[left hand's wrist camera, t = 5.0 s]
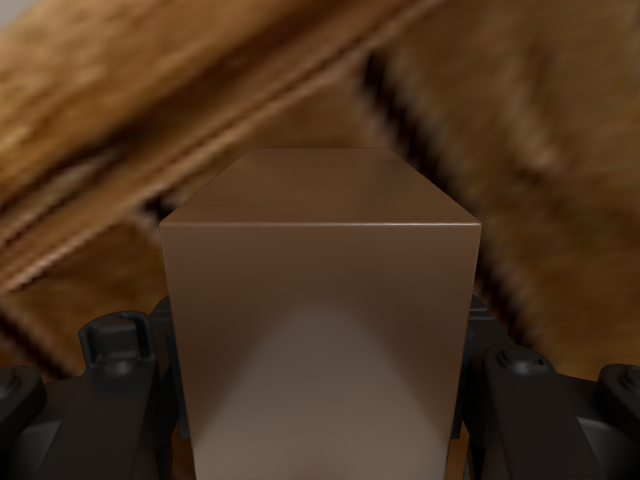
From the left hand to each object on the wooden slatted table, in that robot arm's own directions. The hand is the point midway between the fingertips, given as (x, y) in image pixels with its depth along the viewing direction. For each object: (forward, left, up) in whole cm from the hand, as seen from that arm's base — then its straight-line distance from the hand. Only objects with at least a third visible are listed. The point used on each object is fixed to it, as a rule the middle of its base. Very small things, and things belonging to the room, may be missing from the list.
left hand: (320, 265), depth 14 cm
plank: (-16, +11, -1) cm, 19 cm away
